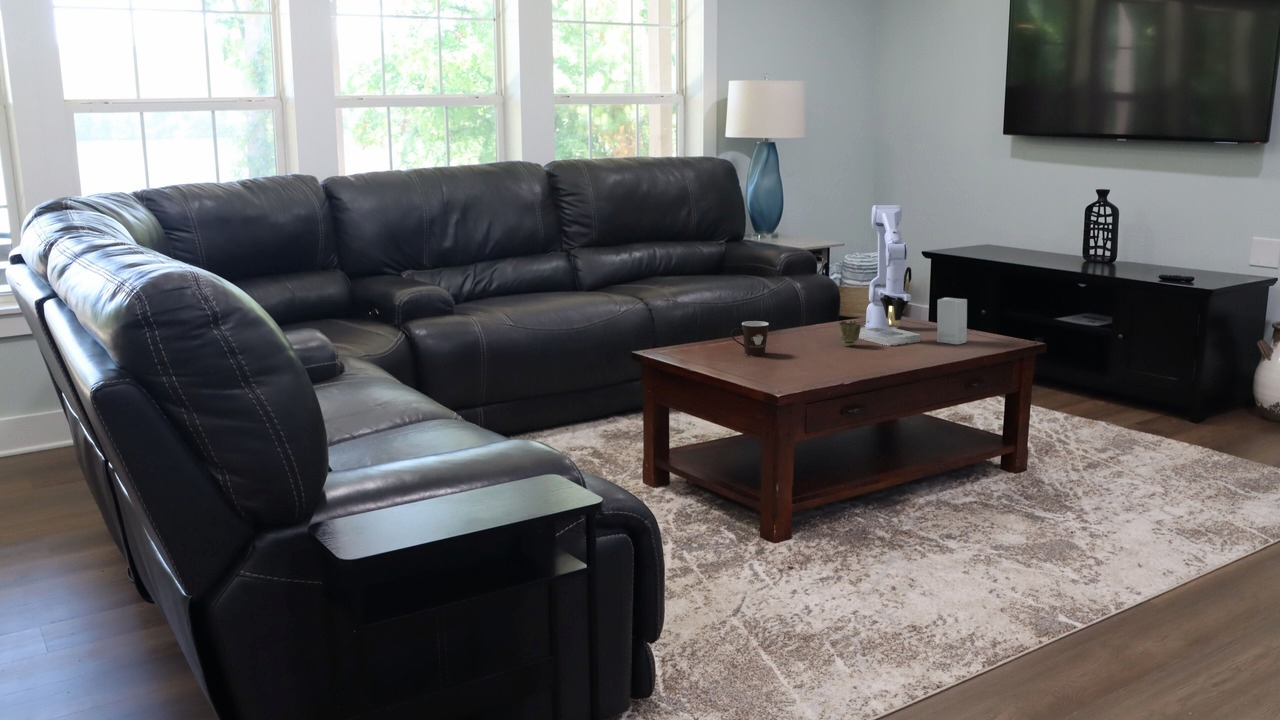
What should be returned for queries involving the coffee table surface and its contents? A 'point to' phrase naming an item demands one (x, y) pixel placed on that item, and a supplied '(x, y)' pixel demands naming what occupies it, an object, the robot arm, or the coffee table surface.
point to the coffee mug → (753, 337)
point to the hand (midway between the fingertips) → (893, 319)
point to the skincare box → (952, 320)
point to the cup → (849, 332)
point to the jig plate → (888, 335)
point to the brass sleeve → (892, 317)
